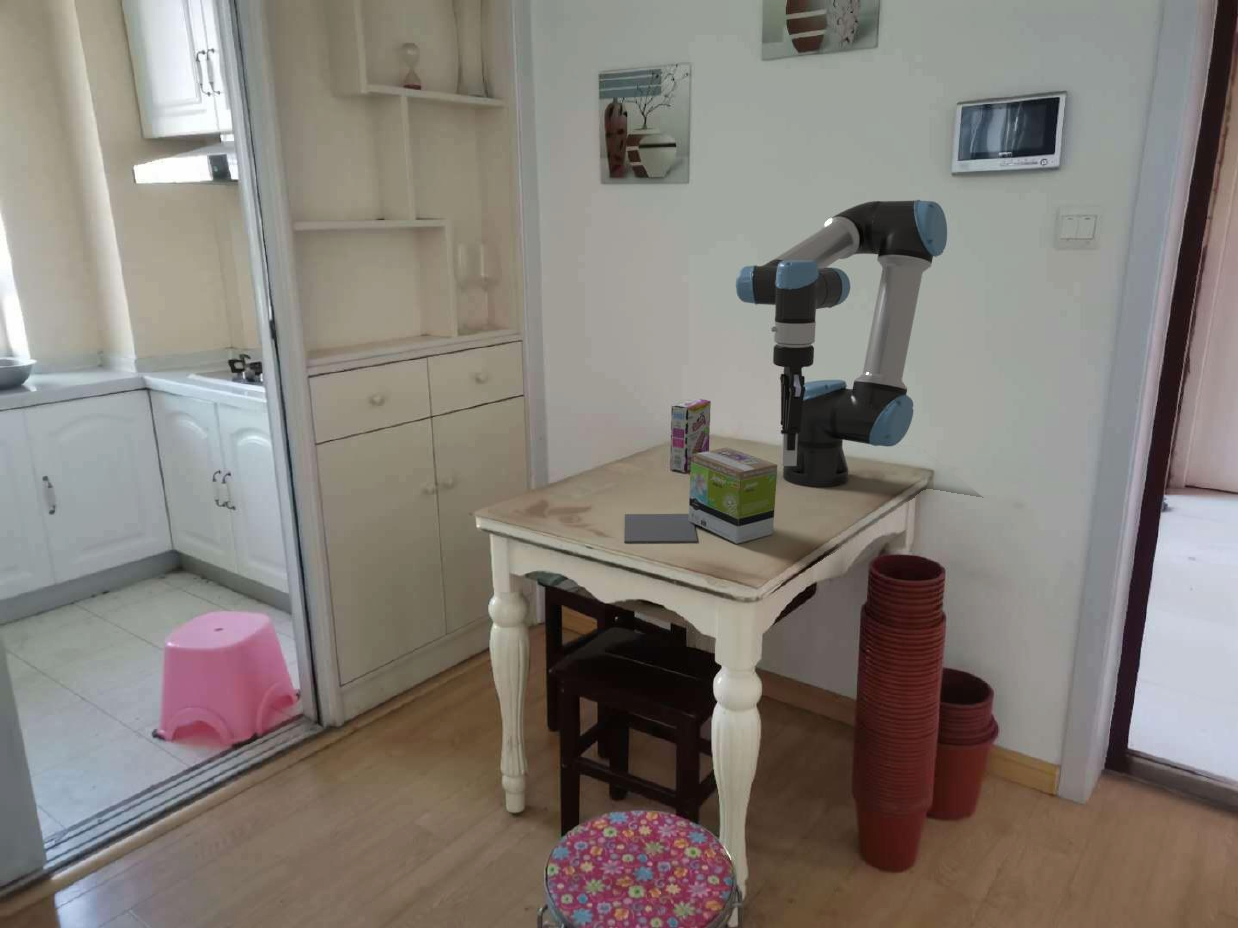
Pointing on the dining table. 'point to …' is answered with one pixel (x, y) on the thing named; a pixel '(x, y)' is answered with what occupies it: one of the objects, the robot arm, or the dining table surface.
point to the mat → (659, 528)
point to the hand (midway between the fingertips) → (788, 464)
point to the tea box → (732, 494)
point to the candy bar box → (689, 432)
